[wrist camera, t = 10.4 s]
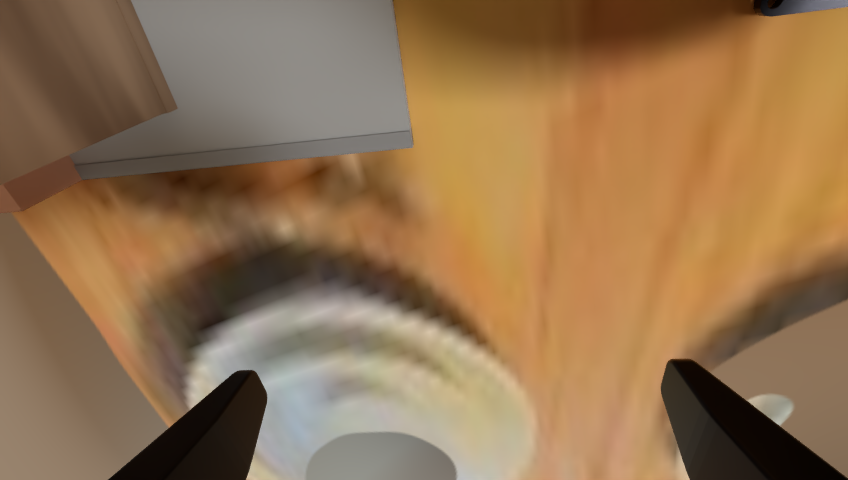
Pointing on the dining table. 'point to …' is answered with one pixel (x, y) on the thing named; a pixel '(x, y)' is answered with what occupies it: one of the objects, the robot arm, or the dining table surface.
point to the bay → (251, 91)
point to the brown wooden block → (72, 79)
